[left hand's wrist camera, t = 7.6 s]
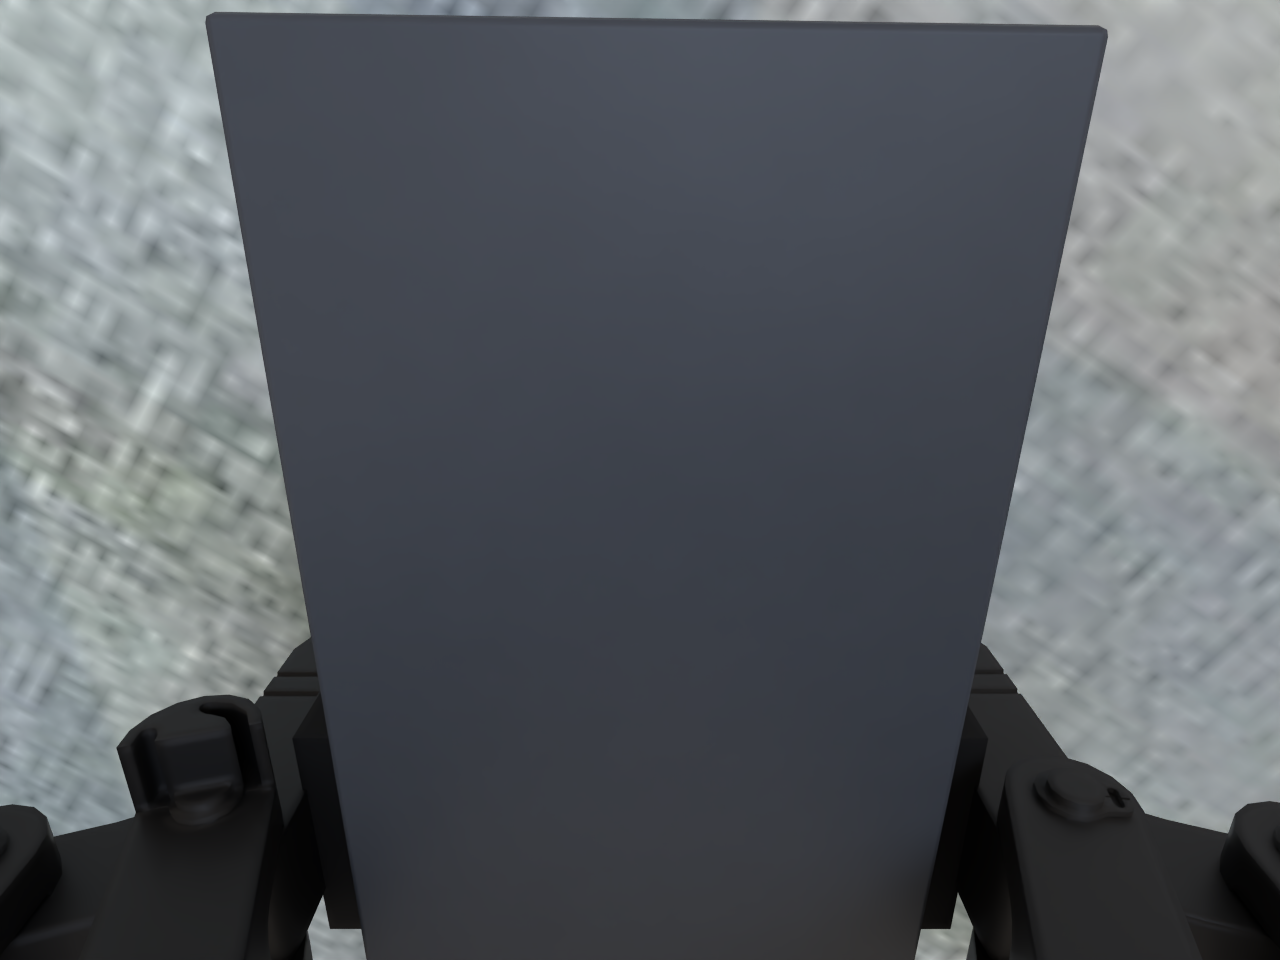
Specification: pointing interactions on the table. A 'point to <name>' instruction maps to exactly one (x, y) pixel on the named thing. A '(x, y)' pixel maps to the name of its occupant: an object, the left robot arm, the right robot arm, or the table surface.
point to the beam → (648, 450)
